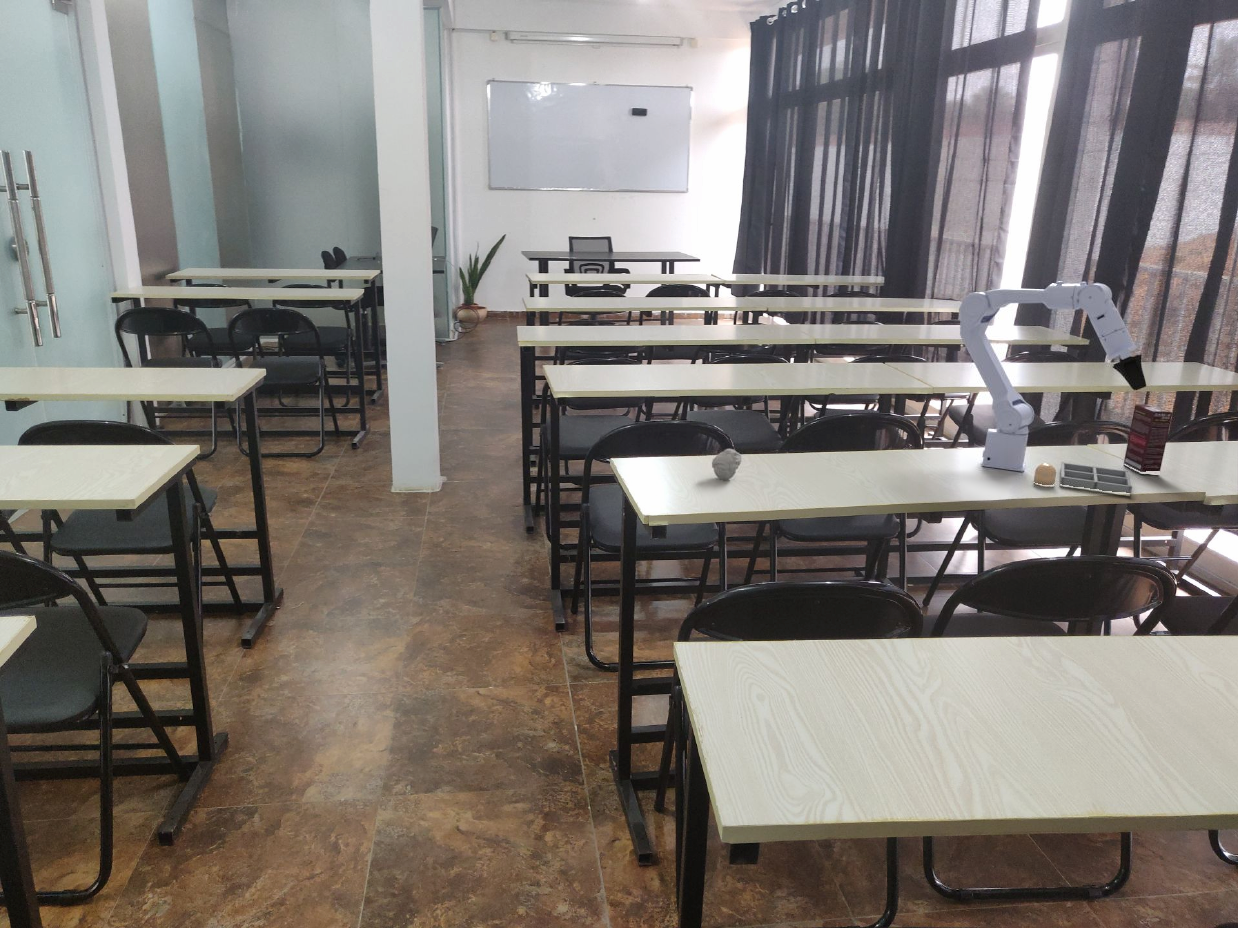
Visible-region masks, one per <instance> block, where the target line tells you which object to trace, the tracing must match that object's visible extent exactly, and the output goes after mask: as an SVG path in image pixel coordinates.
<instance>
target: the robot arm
mask: <svg viewBox="0 0 1238 928" xmlns="http://www.w3.org/2000/svg"><path fill="white" fill-rule="evenodd" d="M1112 292H1113V291H1112V290H1111V288H1110V287H1109V286H1107V285H1106V284H1104V283H1100V282H1094V283H1092V284H1087V281H1080V283H1065V281H1064V280H1063V281H1062V280H1059V281H1056V282H1055V283H1051V284H1049V285H1048V286H1047V287H1046V288H1045V289H1039V288H1038V289H1037V288H1036V289H1035V288H1012V287H1010V288H1009V287H1007V288H998V289H991V290H984V291H980V292H977V291H975V292H974V291H973V292H970V293H968V294H967V295H966V296H965V297H964V298H963V300H962V301H961V304H960V306H959V308H958V312H959V315H960V321H959V322H960V326H959V335H960V338H961V340H962V342H963V344H964V346H965V348H966V349H967V351H968V353H969V355H970V358H971V360H972V361H973V363H974V365H975V367H976V370H977V371H978V373H979V375H980V378H981V379H982V380H983V383H984V384H985V386H986V388H987V391H988V392H989V394H990V396H991V398H992V404H991V408H992V410H993V413H994V422H995V425H996V428H988V429H987V433H986V438H985V444H984V445H985V446H984V450H983V452H982V458H983V459H982V465H981V466H983V467H988V468H993V469H1000V470H1010V471H1016V472H1023V471H1024V472H1025V467H1026V462H1025V456H1026V450H1027V443H1028V438H1029V432H1030V431H1029V427H1028V426H1029V425H1030V424H1031V423H1032V422H1033V421H1034V418H1035V411H1034V408H1033V406H1032V405H1030V404H1029V403H1027V402H1026V400H1025V399H1024V397H1023V396H1022V395H1021V394H1020V393H1019V392H1017V391H1016V389H1015V388H1014V386H1013V385H1012V383H1011V381H1010V379H1009V377H1008V375H1007V373H1006V371H1005V369H1004V367H1003V366H1002V363H1001V362H1000V360H999V358H998V356H997V354H996V352H995V350H994V348H993V346H992V345H991V343H990V341H989V338H988V336H987V335H986V332H987V329H988V326H989V324H990V322H991V321H992V320H993V318H995V316H996V315H997V313H998V312H999V311H1001V310H1000V309H1001V308H1005V307H1008V305H1010V304H1044V306H1045V307H1046V308H1047V309H1050V310H1080V309H1081V310H1083V311H1085V312H1086V314H1087V317H1088V318H1089V321H1090V323H1091V325H1092V327H1093V329H1094V331H1095V333H1096V336H1097V337H1098V339H1099V341H1100V344H1101V346H1102V347H1103V349H1104V351H1105V354H1106V355H1107V360H1108V361H1111V360H1114V359H1117V361H1118V362H1116V363H1113V365H1112V369H1114V370H1116V372H1118V374H1120V375H1121V376H1122V377H1123V378H1124V379H1125V381H1126V382H1127V384H1128V385H1129V387H1130V388H1131V389H1132V390H1133V391H1134V392H1135V391H1139V390H1141V389H1143V388H1145V387H1147V383H1146V382H1147V381H1146V378H1145V375H1144V370H1143V365H1142V354H1140V353H1139V354H1136V355H1134V356H1133V354H1132V352H1133V351H1134V350H1137V349H1138V348H1140V347H1142V346H1143V344H1142V342H1140V343H1139V342H1138V343H1137V344H1136V343H1135V342H1134V340H1133V339H1132V336H1131V334H1130V332H1129V330H1128V328H1127V325H1126V323H1125V322H1124V320H1123V319H1122V315H1121V314H1120V312H1119V309H1117V308H1116V305H1115V304H1114V302H1113V300H1112V298H1113V293H1112Z"/></svg>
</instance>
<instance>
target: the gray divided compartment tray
mask: <svg viewBox="0 0 1238 928" xmlns="http://www.w3.org/2000/svg"><path fill="white" fill-rule="evenodd" d="M1060 484H1062V485H1069V486H1073V487H1084V488H1090V489H1099V490H1102V491H1112V492H1126V493H1132V489H1133V486H1132V485H1133V484H1132V481H1131V478H1130V474H1129V471H1128V470H1123V469H1114V468H1106V467H1099V466H1094V465H1084V464H1078V463H1077V464H1076V463H1071V462H1062V461H1061V464H1060V469H1059V485H1060Z"/></svg>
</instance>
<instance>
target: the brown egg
mask: <svg viewBox="0 0 1238 928" xmlns="http://www.w3.org/2000/svg"><path fill="white" fill-rule="evenodd" d="M1056 478H1057V470H1056V468H1055V466H1054V465H1052V464H1050V463H1041V464H1039V465H1038V466H1037V467H1036V468H1035V471H1034V477H1033V482H1035V483H1038V484H1042V485H1053V484H1054V485H1055V483H1056Z"/></svg>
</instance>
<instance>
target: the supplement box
mask: <svg viewBox="0 0 1238 928" xmlns="http://www.w3.org/2000/svg"><path fill="white" fill-rule="evenodd" d="M1172 416H1173V412H1172V411H1170V410H1167V409H1165V408H1161V407H1160V406H1159V407H1158V406H1156V405H1154V404H1145V403H1144V404H1143V403H1142V404H1140V403H1137V404H1136V403H1135V404H1134V409H1133V414H1132V419H1131V422H1130V423H1131V424H1130V430H1129V434H1128V435H1129V436H1128V438H1127V439H1128V440H1127V444H1126V450H1125V454H1124V459H1123V464H1126V465H1128V466H1129V467H1132V468H1134V469H1136V470H1138V471H1140V472H1146V471H1160V472H1161V469H1162V463H1163V459H1164V454H1165V450H1166V444H1167V440H1168V436H1169V431H1170V427H1171V420H1172Z"/></svg>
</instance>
